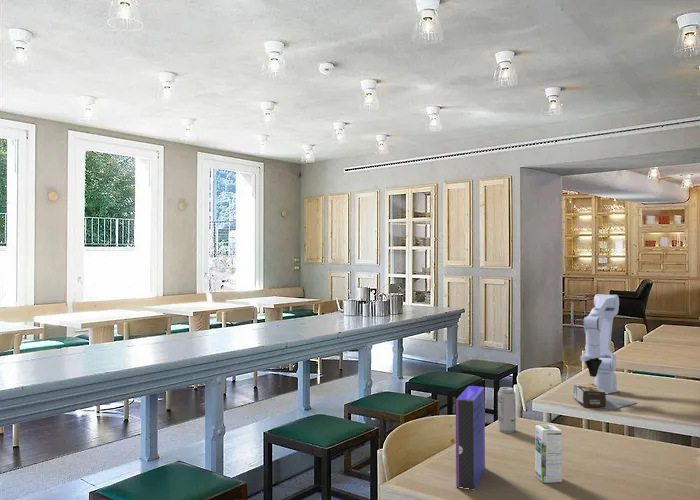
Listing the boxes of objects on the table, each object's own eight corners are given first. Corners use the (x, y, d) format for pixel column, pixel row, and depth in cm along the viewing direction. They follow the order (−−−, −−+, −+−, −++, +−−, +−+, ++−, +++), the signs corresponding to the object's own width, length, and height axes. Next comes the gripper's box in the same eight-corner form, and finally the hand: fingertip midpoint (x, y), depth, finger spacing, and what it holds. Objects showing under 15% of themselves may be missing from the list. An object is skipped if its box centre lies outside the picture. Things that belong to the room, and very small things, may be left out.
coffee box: (571, 397, 254) (582, 406, 238) (571, 382, 254) (582, 391, 238) (593, 397, 253) (605, 407, 237) (593, 382, 253) (605, 391, 237)
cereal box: (468, 465, 176) (468, 385, 176) (485, 467, 174) (484, 386, 174) (456, 487, 160) (455, 399, 160) (473, 490, 158) (473, 400, 158)
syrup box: (534, 475, 168) (533, 424, 168) (554, 474, 168) (553, 423, 168) (542, 483, 162) (542, 430, 162) (563, 482, 162) (562, 430, 162)
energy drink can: (516, 433, 206) (516, 390, 206) (498, 432, 207) (498, 390, 207) (515, 428, 212) (514, 386, 212) (497, 427, 213) (497, 386, 213)
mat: (603, 395, 257) (603, 395, 257) (636, 403, 244) (636, 402, 244) (577, 401, 247) (577, 401, 247) (610, 410, 234) (610, 409, 234)
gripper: (595, 341, 258) (595, 372, 258) (574, 344, 250) (574, 376, 250) (609, 343, 252) (610, 375, 252) (588, 347, 244) (589, 379, 244)
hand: (593, 376), depth 251 cm, fingers closed
